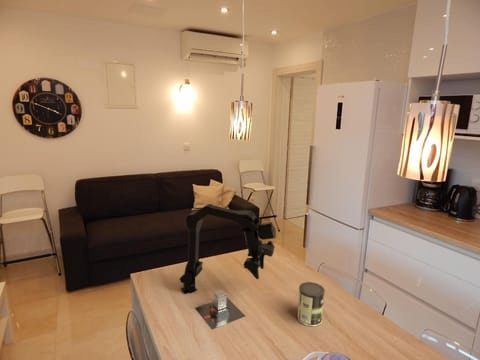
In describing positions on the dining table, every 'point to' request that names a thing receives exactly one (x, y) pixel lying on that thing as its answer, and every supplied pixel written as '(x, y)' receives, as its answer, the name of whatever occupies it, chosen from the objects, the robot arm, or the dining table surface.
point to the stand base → (219, 314)
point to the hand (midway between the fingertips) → (260, 273)
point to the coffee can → (310, 304)
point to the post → (219, 300)
